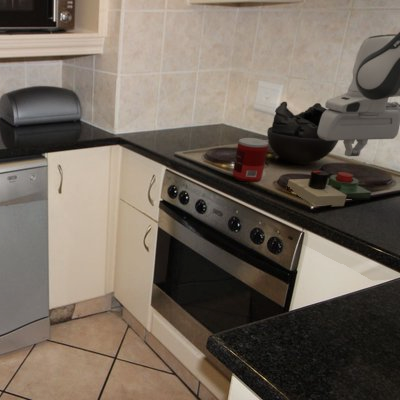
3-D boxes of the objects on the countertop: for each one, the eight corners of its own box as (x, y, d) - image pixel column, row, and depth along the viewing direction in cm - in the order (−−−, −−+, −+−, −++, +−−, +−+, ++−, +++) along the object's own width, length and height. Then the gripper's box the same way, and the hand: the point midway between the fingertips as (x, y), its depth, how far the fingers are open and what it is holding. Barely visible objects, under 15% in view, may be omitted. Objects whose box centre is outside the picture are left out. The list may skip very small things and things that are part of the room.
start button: (354, 182, 126) (356, 176, 125) (342, 182, 126) (344, 176, 125) (345, 177, 129) (347, 171, 129) (333, 178, 129) (334, 172, 128)
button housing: (369, 200, 124) (373, 185, 123) (341, 201, 123) (345, 186, 122) (339, 184, 134) (343, 171, 133) (313, 185, 133) (317, 172, 132)
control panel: (344, 206, 120) (347, 194, 119) (314, 207, 119) (317, 195, 118) (313, 188, 131) (316, 177, 130) (285, 189, 130) (288, 178, 129)
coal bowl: (347, 165, 148) (361, 105, 142) (306, 176, 140) (318, 111, 133) (289, 151, 165) (299, 96, 158) (249, 159, 156) (258, 101, 150)
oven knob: (318, 183, 126) (322, 168, 125) (328, 189, 123) (333, 173, 121) (304, 184, 126) (308, 168, 124) (314, 189, 122) (318, 174, 120)
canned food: (266, 179, 138) (274, 142, 134) (250, 184, 134) (257, 146, 130) (243, 171, 144) (249, 136, 140) (226, 176, 140) (233, 140, 135)
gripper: (393, 99, 123) (378, 151, 129) (320, 100, 121) (308, 153, 126) (413, 104, 118) (397, 158, 123) (337, 105, 115) (324, 160, 120)
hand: (351, 155), depth 124 cm, fingers closed
